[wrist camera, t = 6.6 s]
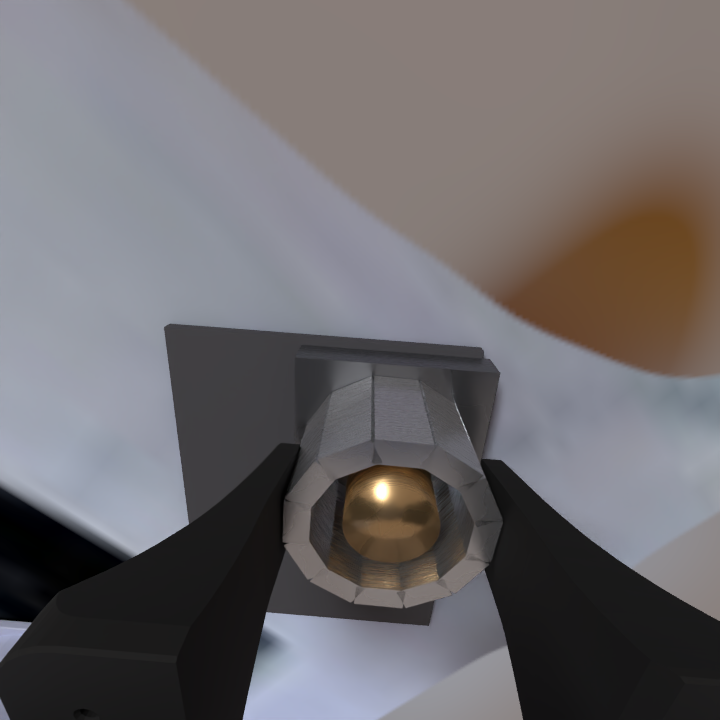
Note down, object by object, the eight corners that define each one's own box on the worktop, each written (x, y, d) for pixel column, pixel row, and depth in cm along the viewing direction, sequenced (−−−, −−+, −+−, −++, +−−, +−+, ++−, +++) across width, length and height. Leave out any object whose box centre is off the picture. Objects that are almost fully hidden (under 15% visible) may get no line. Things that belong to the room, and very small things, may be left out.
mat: (427, 617, 19) (428, 625, 19) (203, 598, 19) (199, 606, 19) (480, 347, 14) (484, 351, 13) (169, 323, 14) (164, 327, 13)
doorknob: (458, 506, 16) (489, 619, 12) (299, 494, 16) (271, 601, 12) (489, 358, 13) (543, 432, 9) (301, 344, 13) (266, 410, 9)
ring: (451, 520, 15) (474, 615, 11) (302, 506, 15) (281, 596, 11) (483, 386, 12) (524, 454, 9) (309, 369, 12) (285, 430, 9)
